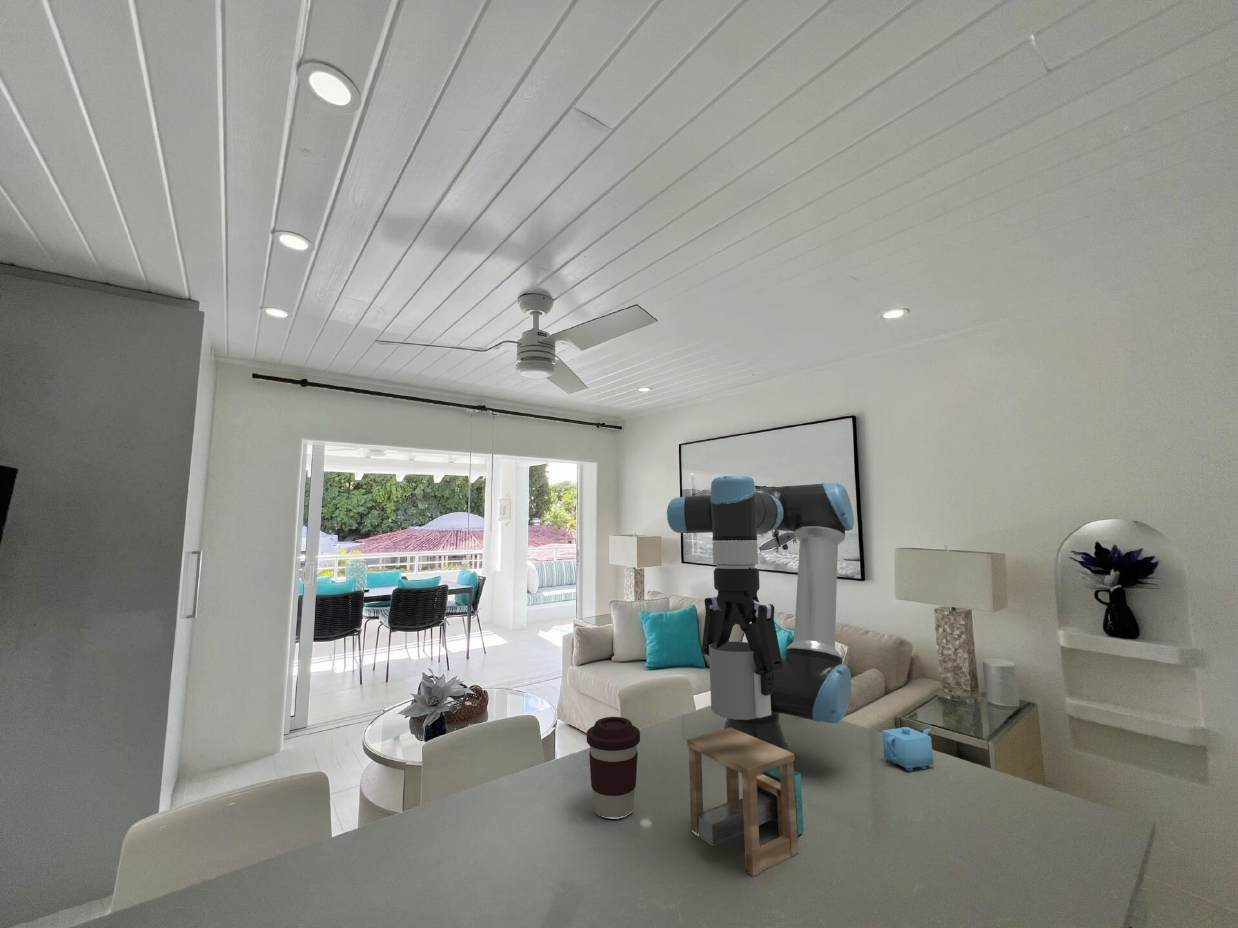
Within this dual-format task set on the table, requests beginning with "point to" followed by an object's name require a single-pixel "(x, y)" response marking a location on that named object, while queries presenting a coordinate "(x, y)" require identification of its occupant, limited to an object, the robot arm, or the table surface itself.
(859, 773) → the table surface
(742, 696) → the cup
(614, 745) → the coffee cup
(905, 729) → the teapot
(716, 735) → the wooden stool
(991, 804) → the table surface
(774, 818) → the grey and teal block
